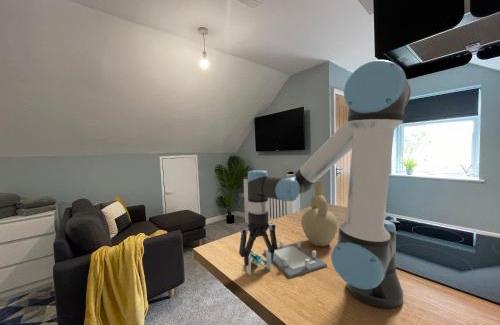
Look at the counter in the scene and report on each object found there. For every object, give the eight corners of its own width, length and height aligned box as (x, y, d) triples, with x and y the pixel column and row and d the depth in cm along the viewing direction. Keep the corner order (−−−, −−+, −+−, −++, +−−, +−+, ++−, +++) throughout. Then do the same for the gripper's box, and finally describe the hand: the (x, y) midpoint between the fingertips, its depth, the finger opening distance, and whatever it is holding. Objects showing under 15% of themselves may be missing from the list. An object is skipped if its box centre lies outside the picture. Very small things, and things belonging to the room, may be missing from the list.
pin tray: (327, 266, 81) (326, 256, 80) (289, 278, 74) (289, 267, 74) (295, 245, 100) (295, 236, 100) (263, 253, 94) (263, 243, 93)
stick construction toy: (271, 264, 77) (255, 250, 77) (260, 281, 75) (244, 267, 75) (262, 259, 88) (248, 247, 88) (252, 274, 86) (237, 262, 86)
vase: (344, 250, 93) (343, 184, 91) (307, 252, 93) (305, 185, 91) (329, 235, 110) (328, 179, 108) (298, 237, 109) (296, 180, 108)
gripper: (276, 206, 85) (277, 260, 87) (228, 212, 78) (230, 271, 79) (286, 210, 79) (287, 269, 80) (235, 218, 71) (236, 283, 72)
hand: (259, 270), depth 79 cm, fingers closed on stick construction toy, 8 cm apart
